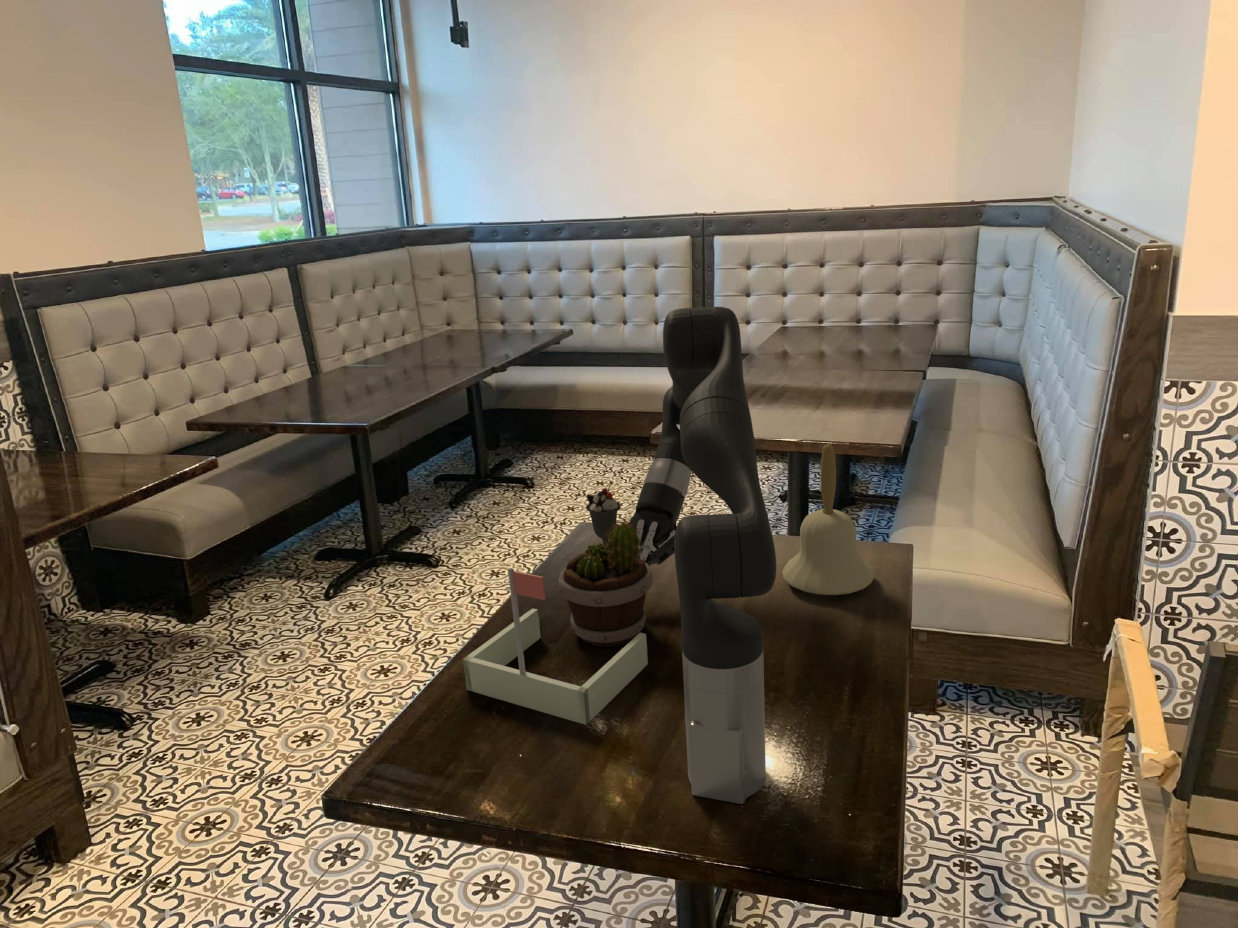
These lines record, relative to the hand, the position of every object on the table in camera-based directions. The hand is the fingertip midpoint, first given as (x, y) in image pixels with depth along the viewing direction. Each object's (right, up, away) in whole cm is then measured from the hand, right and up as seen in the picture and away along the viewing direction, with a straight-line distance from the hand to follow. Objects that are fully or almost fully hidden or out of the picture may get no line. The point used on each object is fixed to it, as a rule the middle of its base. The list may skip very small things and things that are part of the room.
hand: (633, 583), depth 148 cm
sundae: (-5, +2, +24) cm, 24 cm away
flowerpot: (-4, -7, -5) cm, 10 cm away
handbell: (+34, -1, +6) cm, 34 cm away
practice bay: (-11, -11, -16) cm, 23 cm away
